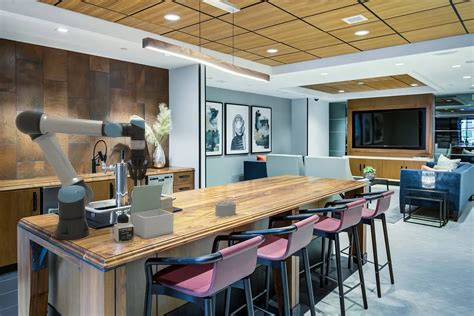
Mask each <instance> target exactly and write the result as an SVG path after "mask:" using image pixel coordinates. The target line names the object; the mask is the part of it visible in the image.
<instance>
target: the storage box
mask: <svg viewBox="0 0 474 316" xmlns="http://www.w3.org/2000/svg"><path fill="white" fill-rule="evenodd" d="M130 216H131V223H130V224H132V225H133V226H134V235H136V236H137V237H140V238H142V239H143V240H145V239H147V240H148V239H152V238H155V237H160V236H161V237H162V236H165V234H166V235H169V234H174V212H173V213H171V212H168V211H165V210H162V209H153V210H146V211H140V212H133V213H131V212H130Z"/></svg>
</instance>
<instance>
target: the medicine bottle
mask: <svg viewBox="0 0 474 316" xmlns="http://www.w3.org/2000/svg"><path fill="white" fill-rule="evenodd" d="M134 236H135V234H134V226H133V225H132V224H131V214H128V213H122V214H118V215H117V216H116V224H114V225H113V239H114V240H115V241H116V242H117V243H119V244H120V243H127V242H132V241H134V240H135V237H134Z"/></svg>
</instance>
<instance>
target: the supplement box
mask: <svg viewBox="0 0 474 316" xmlns="http://www.w3.org/2000/svg"><path fill="white" fill-rule="evenodd" d="M173 199H174V198H173V197H172V196H163V197H162V196H161V200H160V206H159V209H162V210H165V211H168V212H171V213H173V214H174V211H173V209H174V208H173V204H174V202H173Z"/></svg>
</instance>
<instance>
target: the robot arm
mask: <svg viewBox="0 0 474 316" xmlns="http://www.w3.org/2000/svg"><path fill="white" fill-rule="evenodd" d="M14 120H15V121H14V123H15V127H16V128H17V130H18V131H19V132H20V133H22V134H24V135H28V136H29V138H30V139H31V142H33V143H35V144H38V147H39V148H40V150H41V151H42V153H43V155H44V157H45V159H46V161H48V163H49V165H50V167H51V169H52V171H53V172H54V174H55V175H56V178H57V179H58V180H59V182H60V184H61V188H60V189H59V190H58V195H57V199H58V200H57V201H58V221H57V224H56V228H55V231H54V238H55V239H57V240H61V241H64V240H65V241H68V240H77V239H78V240H79V239H82V238H85V237H87V236H88V237H89V235H90V227H89V225H88V222H87V219H86V206H88V205H89V204H91V202H92V200H93V198H94V191H93V189H92V187H91V186H90V185H88V184H87V182H86V181H85V179H84V178H82V177H79V175H78V174H77V171H76V170H75V169H74V167H73V165H72V164H71V162H70V160H69V158H68V156H67V155H66V153H65V151H64V149H63V147H62V146H61V144H60V143H59V140H58V139H57V138H56V134H65V135H80V136H91V137H92V136H93V137H103V138H104V137H105V138H113V139H116V138H130V153H129V154H130V155H129V156H130V158H129V160H128V161H126V162H125V165H126V166H127V169H128V175H129V178H130V180H133V187H134V186H143V184H142V182H143V180H145V179H146V175H147V171H148V167H149V164H150V161H149V160H147V159H146V149H145V148H146V122H145V119H134V118H133V119H132V118H131V119H130V121H129V122H117V121H107V120H106V121H105V120H98V119H97V120H94V119H86V118H83V119H82V118H72V117H62V116H61V117H60V116H50V115H48V114H47V113H44V112H43V111H34V110H24V111H21V112H20V113H18V114H17V116H16V118H15V119H14Z"/></svg>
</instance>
